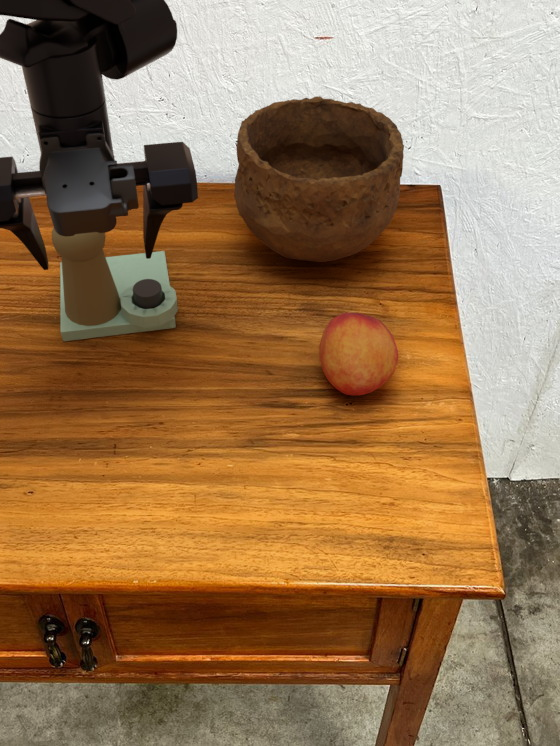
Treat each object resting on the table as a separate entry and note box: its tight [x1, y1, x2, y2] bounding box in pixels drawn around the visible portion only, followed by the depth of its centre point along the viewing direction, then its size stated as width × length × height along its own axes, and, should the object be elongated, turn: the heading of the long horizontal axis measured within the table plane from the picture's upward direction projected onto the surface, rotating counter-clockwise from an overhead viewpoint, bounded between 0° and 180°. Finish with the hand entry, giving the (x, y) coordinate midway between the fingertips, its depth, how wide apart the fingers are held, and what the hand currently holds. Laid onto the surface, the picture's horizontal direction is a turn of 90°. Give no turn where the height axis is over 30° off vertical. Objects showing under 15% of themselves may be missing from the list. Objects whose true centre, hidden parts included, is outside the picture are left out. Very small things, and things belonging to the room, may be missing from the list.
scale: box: [59, 250, 179, 342], centre depth 86 cm, size 12×13×3 cm
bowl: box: [233, 95, 405, 263], centre depth 89 cm, size 19×19×15 cm
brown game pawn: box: [51, 227, 121, 326], centre depth 80 cm, size 6×6×11 cm
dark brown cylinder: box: [133, 279, 163, 309], centre depth 82 cm, size 3×3×2 cm
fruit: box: [318, 312, 399, 396], centre depth 76 cm, size 8×8×8 cm
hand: (97, 261), depth 71 cm, fingers open, 9 cm apart
